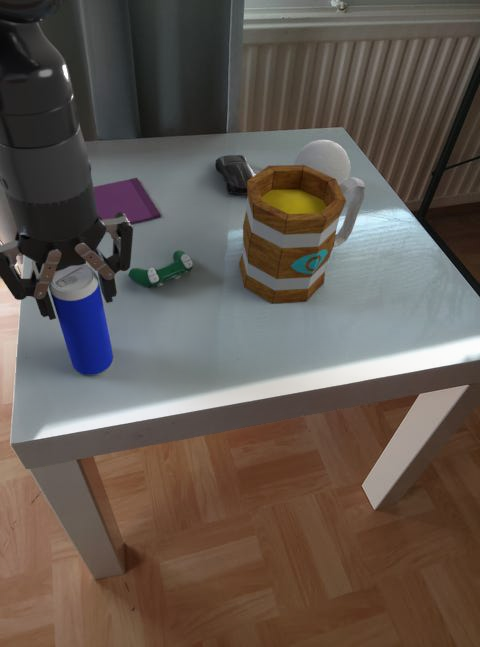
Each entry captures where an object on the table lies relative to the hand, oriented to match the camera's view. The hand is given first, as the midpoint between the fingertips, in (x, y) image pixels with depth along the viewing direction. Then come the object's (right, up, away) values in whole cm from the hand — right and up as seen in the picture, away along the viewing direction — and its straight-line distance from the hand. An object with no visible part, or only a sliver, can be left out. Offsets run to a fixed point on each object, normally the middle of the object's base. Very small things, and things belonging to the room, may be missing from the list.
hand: (79, 305), depth 57 cm
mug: (+27, +7, +23) cm, 36 cm away
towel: (-4, +18, +30) cm, 35 cm away
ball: (+32, +22, +37) cm, 54 cm away
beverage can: (-1, -7, +8) cm, 11 cm away
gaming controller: (+7, +5, +19) cm, 21 cm away
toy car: (+18, +25, +37) cm, 48 cm away
